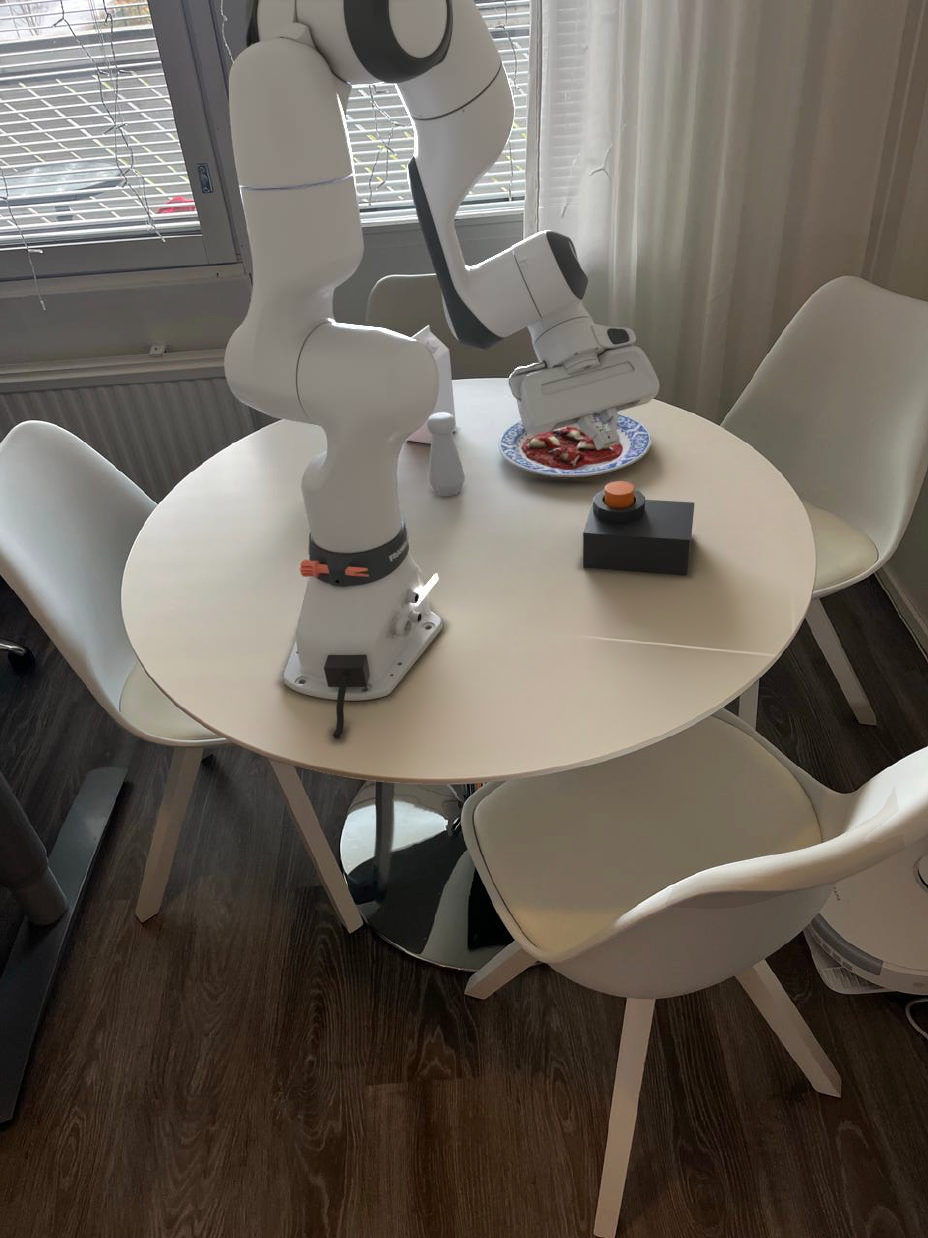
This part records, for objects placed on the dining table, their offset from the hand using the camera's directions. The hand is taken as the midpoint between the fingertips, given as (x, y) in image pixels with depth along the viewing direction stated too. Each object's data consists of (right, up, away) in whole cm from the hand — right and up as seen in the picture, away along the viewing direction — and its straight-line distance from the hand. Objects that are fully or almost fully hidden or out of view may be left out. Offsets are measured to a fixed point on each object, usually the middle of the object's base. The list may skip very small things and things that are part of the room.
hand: (609, 445), depth 118 cm
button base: (+5, -14, +4) cm, 16 cm away
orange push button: (+2, -7, +2) cm, 8 cm away
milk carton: (-26, +10, +41) cm, 50 cm away
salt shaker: (-22, -3, +24) cm, 33 cm away
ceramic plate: (-1, +5, +31) cm, 32 cm away
